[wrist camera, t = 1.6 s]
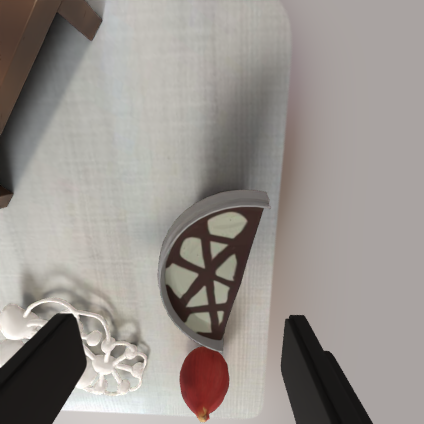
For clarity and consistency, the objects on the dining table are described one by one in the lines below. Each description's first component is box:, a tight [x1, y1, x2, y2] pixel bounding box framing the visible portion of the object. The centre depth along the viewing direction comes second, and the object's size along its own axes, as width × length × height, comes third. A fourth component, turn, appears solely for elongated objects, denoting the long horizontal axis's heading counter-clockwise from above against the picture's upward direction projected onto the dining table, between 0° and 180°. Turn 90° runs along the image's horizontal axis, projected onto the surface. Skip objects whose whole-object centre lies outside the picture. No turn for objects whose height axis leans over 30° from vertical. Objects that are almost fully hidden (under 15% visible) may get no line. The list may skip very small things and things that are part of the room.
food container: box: [158, 190, 271, 353], centre depth 18 cm, size 12×6×10 cm, turn 167°
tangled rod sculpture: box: [0, 298, 147, 396], centre depth 26 cm, size 19×14×4 cm
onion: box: [180, 346, 229, 422], centre depth 24 cm, size 6×6×8 cm
